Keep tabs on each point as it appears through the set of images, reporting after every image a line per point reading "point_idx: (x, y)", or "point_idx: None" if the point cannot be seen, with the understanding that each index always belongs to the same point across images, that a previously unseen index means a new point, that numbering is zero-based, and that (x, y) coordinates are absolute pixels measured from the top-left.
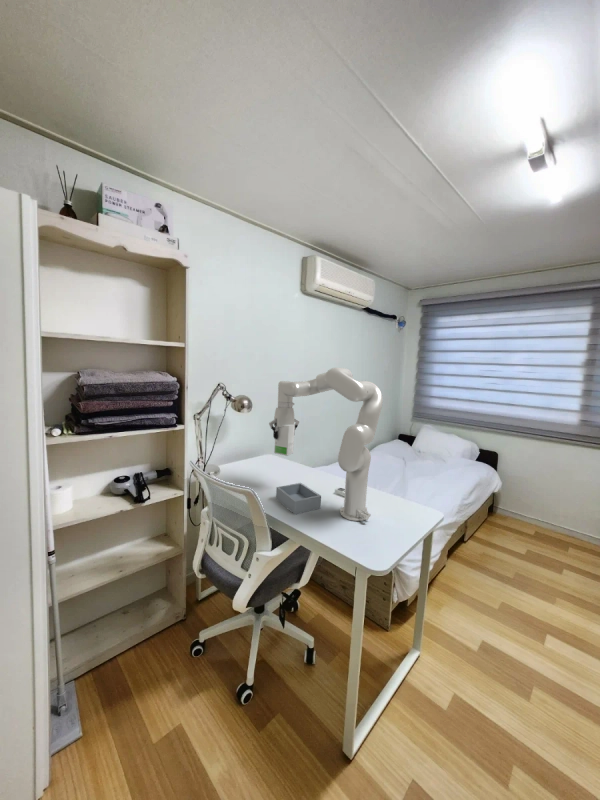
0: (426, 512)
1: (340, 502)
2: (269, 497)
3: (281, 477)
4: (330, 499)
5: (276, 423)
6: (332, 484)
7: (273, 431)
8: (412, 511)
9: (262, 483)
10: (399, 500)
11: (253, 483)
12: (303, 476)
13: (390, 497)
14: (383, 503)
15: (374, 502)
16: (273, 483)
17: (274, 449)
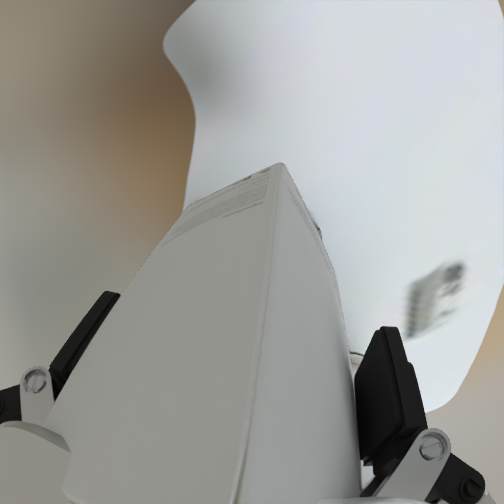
0: (440, 400)
1: (373, 329)
2: (200, 197)
3: (361, 40)
4: (369, 306)
5: (26, 482)
6: (470, 230)
7: (49, 369)
8: (431, 394)
9: (238, 57)
10: (465, 365)
11: (201, 43)
12: (452, 97)
13: (471, 352)
14: (434, 365)
15: (428, 356)
16: (285, 80)
17: (175, 222)
